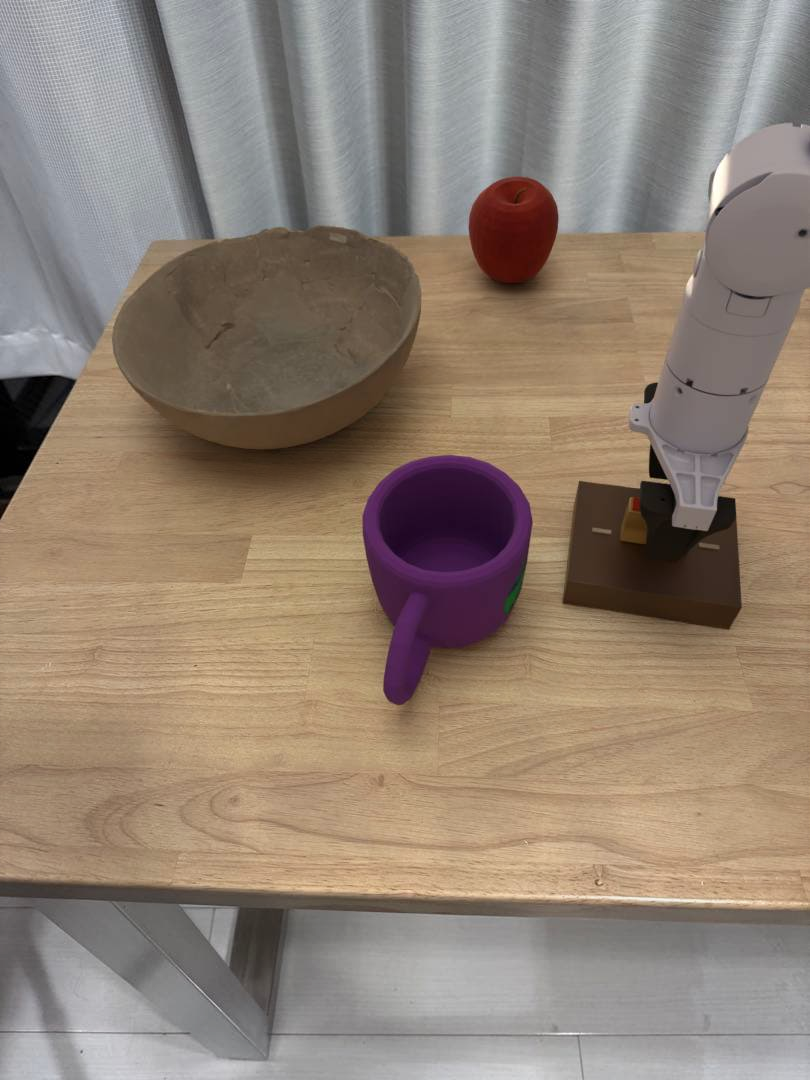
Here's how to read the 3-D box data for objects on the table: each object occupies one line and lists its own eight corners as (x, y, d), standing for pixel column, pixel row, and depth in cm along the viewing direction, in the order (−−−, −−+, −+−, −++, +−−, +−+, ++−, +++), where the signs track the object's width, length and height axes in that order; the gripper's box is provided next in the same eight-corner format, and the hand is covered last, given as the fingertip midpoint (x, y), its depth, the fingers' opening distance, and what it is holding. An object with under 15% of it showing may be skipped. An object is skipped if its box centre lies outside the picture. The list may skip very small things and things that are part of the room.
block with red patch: (689, 536, 54) (702, 504, 51) (689, 551, 53) (703, 519, 51) (620, 527, 55) (630, 494, 52) (619, 541, 54) (629, 509, 51)
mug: (403, 524, 60) (395, 437, 52) (537, 556, 58) (550, 470, 50) (319, 708, 51) (294, 636, 43) (476, 759, 48) (481, 691, 40)
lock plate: (724, 524, 59) (736, 499, 56) (729, 629, 53) (742, 606, 50) (573, 504, 61) (579, 479, 58) (562, 603, 55) (567, 579, 52)
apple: (460, 294, 80) (461, 206, 72) (475, 248, 86) (478, 161, 78) (546, 302, 78) (557, 213, 70) (556, 254, 84) (567, 166, 76)
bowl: (453, 323, 77) (453, 234, 69) (377, 517, 61) (366, 430, 53) (218, 293, 83) (194, 208, 75) (92, 464, 67) (44, 379, 59)
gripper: (648, 284, 46) (611, 438, 57) (641, 443, 38) (599, 588, 49) (765, 294, 45) (705, 449, 56) (785, 460, 37) (709, 605, 47)
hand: (662, 515), depth 52 cm, fingers open, 7 cm apart
